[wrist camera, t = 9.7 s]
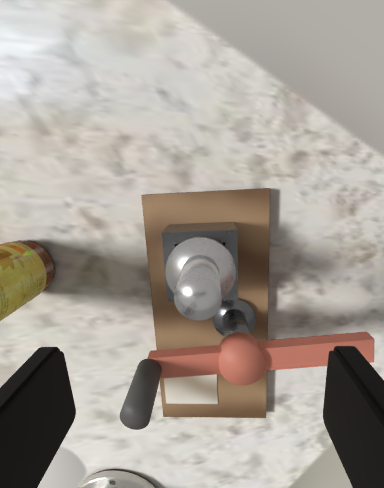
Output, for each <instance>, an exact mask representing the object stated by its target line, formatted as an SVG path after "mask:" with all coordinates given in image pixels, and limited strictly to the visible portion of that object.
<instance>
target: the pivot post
mask: <svg viewBox="0 0 384 488" xmlns="http://www.w3.org/2000/svg"><path fill="white" fill-rule="evenodd" d="M255 322H256V316H255V312H254V310H253V308H252V306H251V305H250V304H249V303H248V302H247V301H245V300H243V299H240V298H238V300H223V301H222V303H221V307H220V309H219V310H218V312H217V313H216V314H215V315H214V316H213V324H214V327H215V329H216V330H217V331H218V332H219V333H220V334H221V335H223V336H224V338H225V337H226V336H228V335H229V334H232V333H236V332H243V333H247V334H250V332H251V331H252V329H253V328H254V326H255Z"/></svg>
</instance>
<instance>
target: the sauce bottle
mask: <svg viewBox="0 0 384 488" xmlns="http://www.w3.org/2000/svg"><path fill="white" fill-rule="evenodd" d="M53 277H54V265H53V261H52V259H51V257H50V255H49V254H48V252H47V251H46V250H45V249H44V248H43V247H41V246H40V245H38V244H36V243H33V242H30V241H20V240H19V241H16V242H7V243H3V244H0V321H1V320H2V319H4V318H5V317H7V316H8V315H10V314H11V313H13V312H14V311H16V310H17V309H18V308H20V307H21V306H23V305H24V304H26V303H27V302H29V301H30V300H32V299H33V298H34V297H36V296H37V295H39V294H40V293H41V292H42V291H43V290H44V289H45V288H47V286H48V285H49V284H50V282H51V281H52V279H53Z"/></svg>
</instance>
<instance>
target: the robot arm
mask: <svg viewBox="0 0 384 488" xmlns="http://www.w3.org/2000/svg"><path fill="white" fill-rule="evenodd" d="M75 414H76V409H75V404H74V399H73V395H72V390H71V385H70V381H69V376H68V371H67V366H66V362H65V357H64V353H63V352H62V351H60V349H59V348H58V347H41V348H39V349H38V350H37V351H36V352H35V353H34V354H33V355H32V356H31V357H30V358H29V359H28V360H27V361H26V362H25V363H24V364H23V365H22V366H21V367H20V368H19V369H18V370H17V371H16V372H15V373H14V374H13V375H12V376H11V377H10V378H9V379H8V380H7V382H6V383H5V384H4V385H3V386H2V387H1V388H0V488H37V487H38V485H39V483H40V481H41V480H42V478H43V476H44V474H45V472H46V471H47V469H48V467H49V465H50V463H51V461H52V460H53V458H54V456H55V454H56V452H57V451H58V449H59V447H60V445H61V443H62V441H63V440H64V438H65V436H66V434H67V432H68V431H69V429H70V427H71V425H72V423H73V421H74V419H75ZM323 419H324V423H325V426H326V429H327V431H328V433H329V435H330V438H331V440H332V442H333V444H334V446H335V449H336V451H337V453H338V455H339V458H340V460H341V462H342V464H343V467H344V469H345V471H346V473H347V475H348V478H349V479H350V482H351V484H352V486H353V488H384V380H383V379H382V378H381V377H380V376H379V374H378V373H377V372H376V371H375V370H374V368H373V367H372V366H371V365H370V363H369V362H368V361H367V360H366V359H365V357H364V356H363V355H362V354H361V353H360V351H359V350H358V349H357V348H356V347H355V346H335V347H334V350H333V351H329V355H328V366H327V376H326V387H325V398H324V409H323ZM78 488H155V487H154V486H153V485H152V484H151V483H149V482H148V481H147V480H145V479H143V478H142V477H140V476H138V475H135V474H132V473H129V472H124V471H116V470H110V471H102V472H98V473H95V474H93V475H91V476H89V477H88V478H86V479H85V480H84V481H83V482H82V483H81V484H80V485H79V487H78Z"/></svg>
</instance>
